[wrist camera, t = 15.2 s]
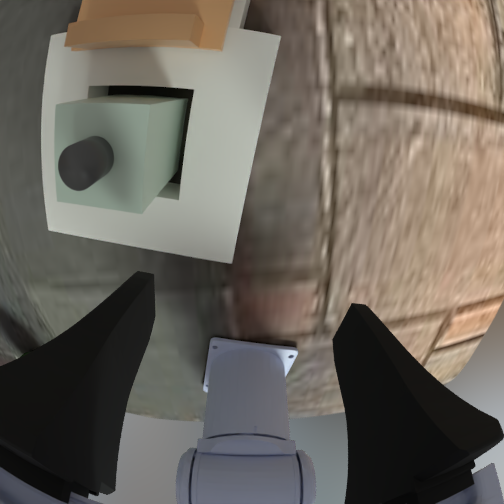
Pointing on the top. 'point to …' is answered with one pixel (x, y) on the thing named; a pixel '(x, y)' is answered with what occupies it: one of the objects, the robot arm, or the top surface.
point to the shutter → (150, 24)
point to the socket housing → (197, 142)
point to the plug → (117, 149)
